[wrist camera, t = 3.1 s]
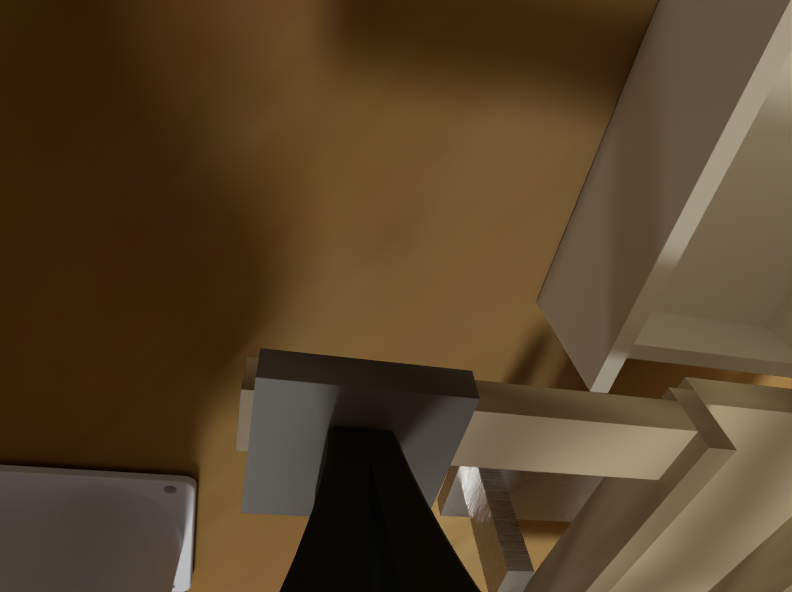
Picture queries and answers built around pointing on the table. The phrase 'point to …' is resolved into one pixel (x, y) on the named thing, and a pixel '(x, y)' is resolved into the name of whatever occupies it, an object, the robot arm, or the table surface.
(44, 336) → the table surface
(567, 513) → the lever stand
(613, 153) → the cream open box
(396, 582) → the robot arm
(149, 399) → the table surface
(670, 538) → the lever
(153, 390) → the table surface
